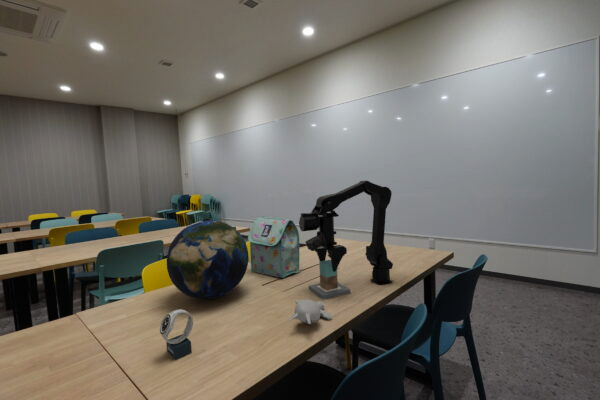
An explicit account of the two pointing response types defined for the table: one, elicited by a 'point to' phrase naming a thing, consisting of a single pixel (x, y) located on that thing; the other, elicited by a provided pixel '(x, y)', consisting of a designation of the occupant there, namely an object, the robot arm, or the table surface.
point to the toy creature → (309, 311)
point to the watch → (180, 343)
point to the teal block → (326, 268)
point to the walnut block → (328, 282)
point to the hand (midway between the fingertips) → (328, 268)
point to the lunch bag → (274, 247)
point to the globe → (207, 259)
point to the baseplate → (329, 291)
